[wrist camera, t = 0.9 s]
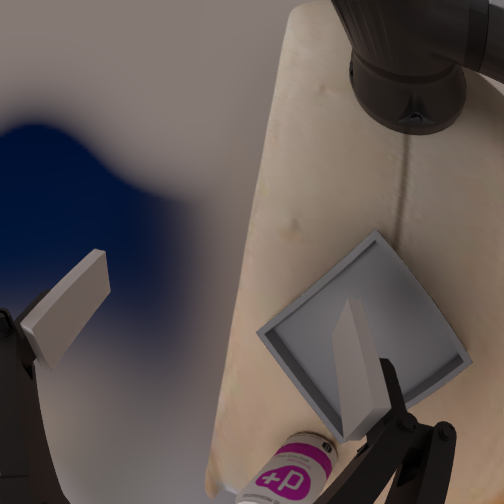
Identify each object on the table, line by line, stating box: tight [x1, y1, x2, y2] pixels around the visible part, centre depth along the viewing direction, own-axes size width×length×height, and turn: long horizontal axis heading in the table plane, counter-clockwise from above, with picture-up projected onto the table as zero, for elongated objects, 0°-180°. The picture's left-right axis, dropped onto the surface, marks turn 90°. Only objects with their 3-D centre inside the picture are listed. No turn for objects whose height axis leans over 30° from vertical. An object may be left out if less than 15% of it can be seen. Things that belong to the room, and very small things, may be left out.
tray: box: [256, 229, 473, 444], centre depth 29 cm, size 18×18×4 cm
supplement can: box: [235, 433, 337, 504], centre depth 26 cm, size 8×8×15 cm
